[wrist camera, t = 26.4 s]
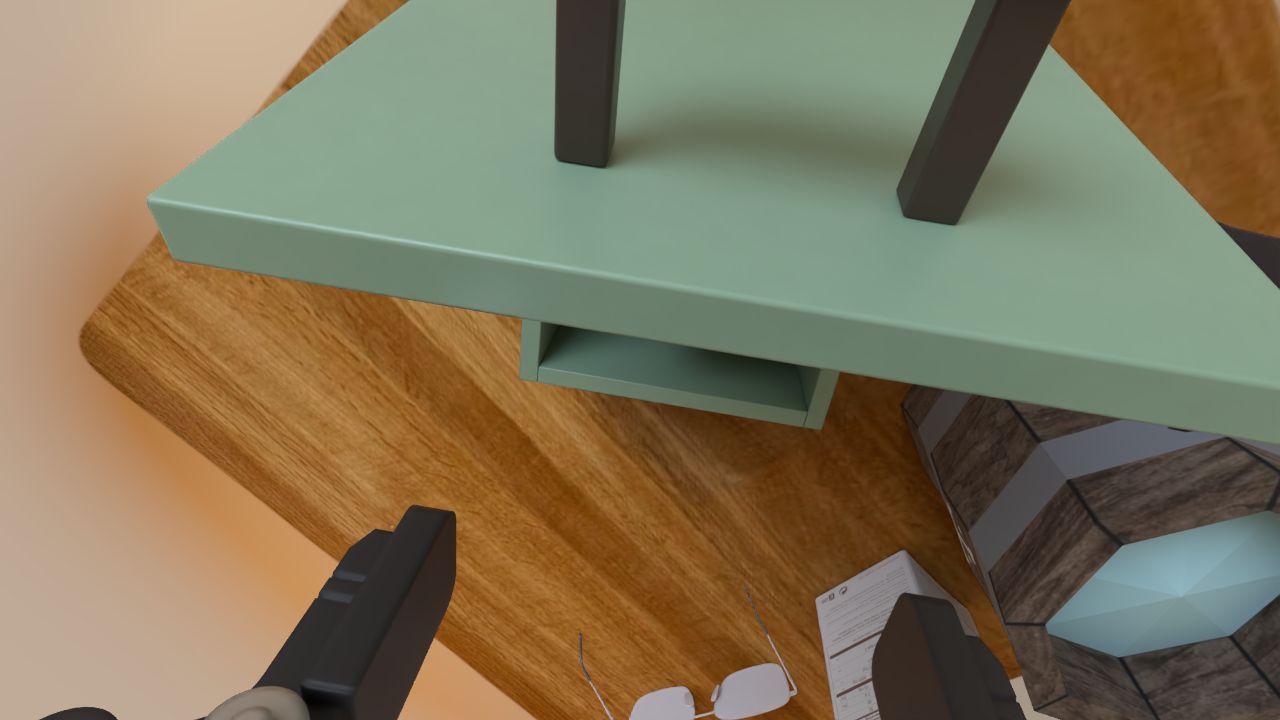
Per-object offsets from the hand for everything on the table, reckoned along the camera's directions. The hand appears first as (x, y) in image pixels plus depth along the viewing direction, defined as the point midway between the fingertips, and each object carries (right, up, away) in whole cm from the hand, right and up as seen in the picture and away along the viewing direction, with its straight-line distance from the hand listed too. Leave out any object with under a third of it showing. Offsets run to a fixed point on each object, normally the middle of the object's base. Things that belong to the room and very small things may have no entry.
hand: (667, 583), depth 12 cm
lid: (+2, +10, +2) cm, 10 cm away
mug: (+21, +4, +23) cm, 31 cm away
